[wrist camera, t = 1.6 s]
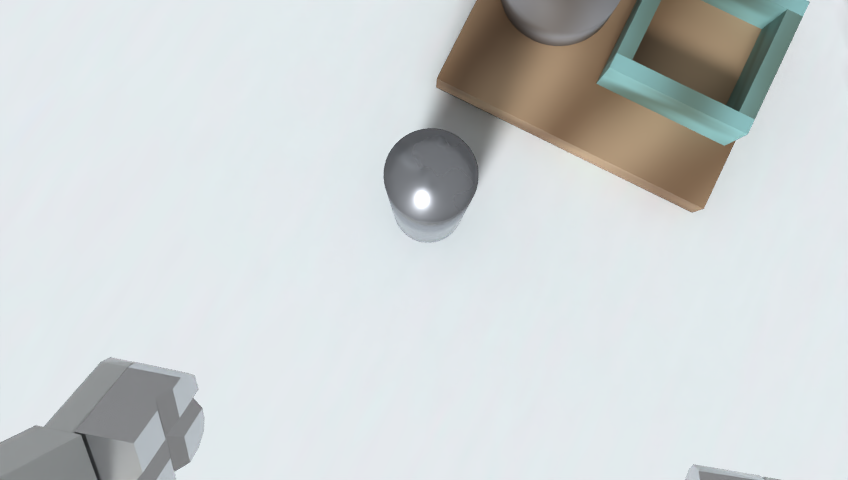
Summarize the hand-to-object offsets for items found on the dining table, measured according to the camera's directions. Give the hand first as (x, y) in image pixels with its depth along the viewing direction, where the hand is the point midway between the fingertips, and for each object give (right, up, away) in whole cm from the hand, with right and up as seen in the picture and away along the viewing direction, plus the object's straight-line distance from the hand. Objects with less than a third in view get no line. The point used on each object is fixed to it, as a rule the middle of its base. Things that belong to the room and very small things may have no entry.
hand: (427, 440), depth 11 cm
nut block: (+10, +13, +26) cm, 31 cm away
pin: (0, +5, +25) cm, 25 cm away
